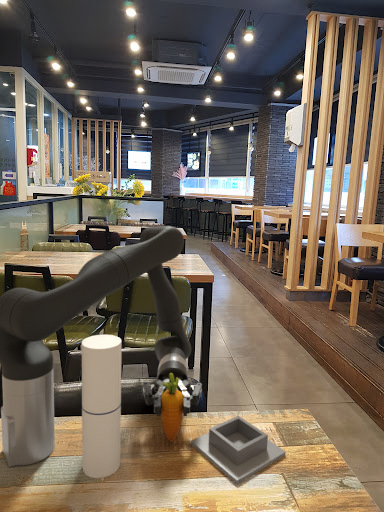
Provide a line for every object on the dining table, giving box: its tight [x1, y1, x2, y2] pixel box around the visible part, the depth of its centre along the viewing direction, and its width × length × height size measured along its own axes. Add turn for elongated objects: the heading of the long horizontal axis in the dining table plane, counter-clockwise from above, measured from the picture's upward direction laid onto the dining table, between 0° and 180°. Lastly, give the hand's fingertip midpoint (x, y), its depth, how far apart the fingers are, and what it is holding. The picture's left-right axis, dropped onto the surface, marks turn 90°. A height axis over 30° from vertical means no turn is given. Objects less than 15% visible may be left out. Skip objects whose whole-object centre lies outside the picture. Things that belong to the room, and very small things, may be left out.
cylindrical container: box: [81, 334, 122, 479], centre depth 70 cm, size 7×7×25 cm
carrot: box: [160, 373, 184, 443], centre depth 78 cm, size 5×5×15 cm
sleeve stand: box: [190, 415, 287, 485], centre depth 77 cm, size 14×14×4 cm
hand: (172, 411), depth 75 cm, fingers closed on carrot, 4 cm apart
